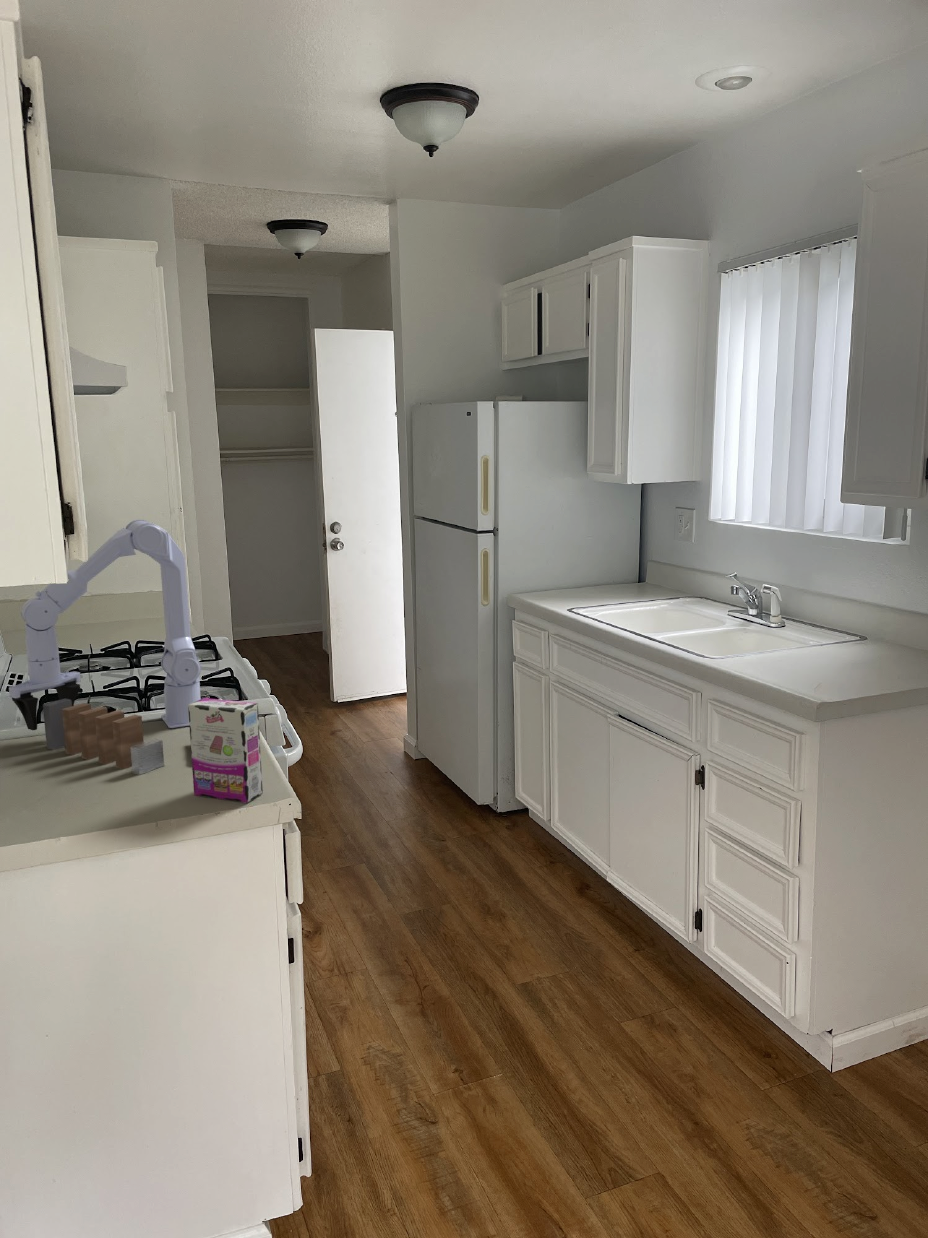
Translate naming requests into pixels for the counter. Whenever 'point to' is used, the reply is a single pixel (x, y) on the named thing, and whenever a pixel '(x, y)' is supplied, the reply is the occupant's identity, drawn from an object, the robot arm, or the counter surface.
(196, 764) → the candy bar box
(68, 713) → the domino
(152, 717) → the counter surface
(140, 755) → the block
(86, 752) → the domino
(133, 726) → the domino
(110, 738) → the domino
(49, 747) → the domino
